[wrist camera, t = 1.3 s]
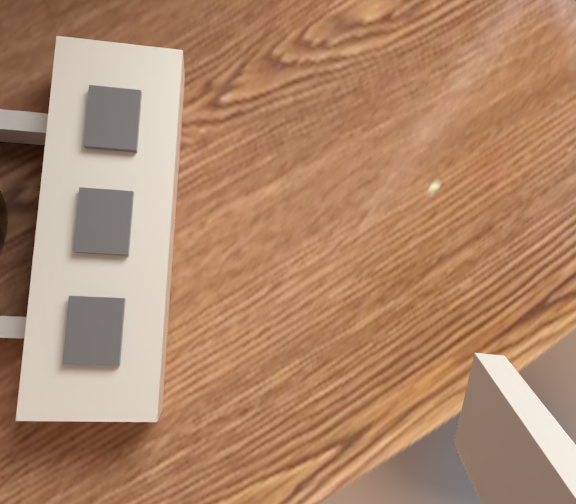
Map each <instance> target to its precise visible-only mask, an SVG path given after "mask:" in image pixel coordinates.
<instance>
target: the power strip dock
mask: <svg viewBox="0 0 576 504" xmlns="http://www.w3.org/2000/svg"><path fill="white" fill-rule="evenodd" d="M184 83H185V75H184V61H183V50H177V49H168V48H159V47H151V46H142V45H133V44H124V43H116V42H107V41H98V40H89V39H81V38H72V37H63V36H56V46H55V55H54V64H53V74H52V83H51V93H50V102H49V112H48V114H47V113H37V112H26V111H15V110H4V109H0V142H11V143H23V144H35V145H45V149H44V159H43V168H42V177H41V187H40V196H39V206H38V215H37V224H36V234H35V243H34V253H33V262H32V272H31V281H30V290H29V300H28V309H27V317H16V316H0V338H24V347H23V356H22V366H21V375H20V385H19V394H18V403H17V413H16V421H76V422H157V421H158V419H159V417H160V415H161V412H162V406H163V392H164V377H165V362H166V348H167V333H168V318H169V303H170V289H171V274H172V259H173V245H174V230H175V215H176V201H177V186H178V171H179V157H180V142H181V127H182V113H183V98H184Z"/></svg>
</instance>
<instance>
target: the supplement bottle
mask: <svg viewBox="0 0 576 504" xmlns="http://www.w3.org/2000/svg"><path fill="white" fill-rule="evenodd" d="M7 224H8V216H7V208H6V204H5V201H4V198H3V196H2V194H1V191H0V248H1V246H2V244H3V242H4V239H5V236H6V231H7Z"/></svg>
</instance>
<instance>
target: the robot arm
mask: <svg viewBox="0 0 576 504" xmlns="http://www.w3.org/2000/svg"><path fill="white" fill-rule="evenodd" d="M454 446H455V448H456V450H457V452H458V455H459V457H460V459H461V461H462V463H463V466H464V468H465V470H466V472H467V474H468V476H469V479H470V481H471V483H472V485H473V487H474V489H475V491H476V494H477V496H478V498H479V500H480V503H481V504H576V445H575V444H574V442H573V441H572V440H571V439H570V437H569V436H568V435H567V434H566V433H565V431H564V430H563V429H562V427H561V426H560V425H559V423H558V422H557V421H556V420H555V419H554V417H553V416H552V415H551V413H550V412H549V411H548V410H547V408H546V407H545V406H544V405H543V403H542V402H541V401H540V400H539V399H538V397H537V396H536V395H535V393H534V392H533V391H532V390H531V388H530V387H529V386H528V385H527V383H526V382H525V381H524V380H523V378H522V377H521V376H520V375H519V373H518V372H517V371H516V370H515V368H514V367H513V366H512V365H511V363H510V362H509V361H508V360H507V358H506V357H505V356H502V355H491V354H480V353H475V354H474V358H473V362H472V367H471V371H470V376H469V380H468V384H467V389H466V393H465V398H464V402H463V406H462V411H461V415H460V420H459V424H458V428H457V433H456V437H455V441H454Z"/></svg>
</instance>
